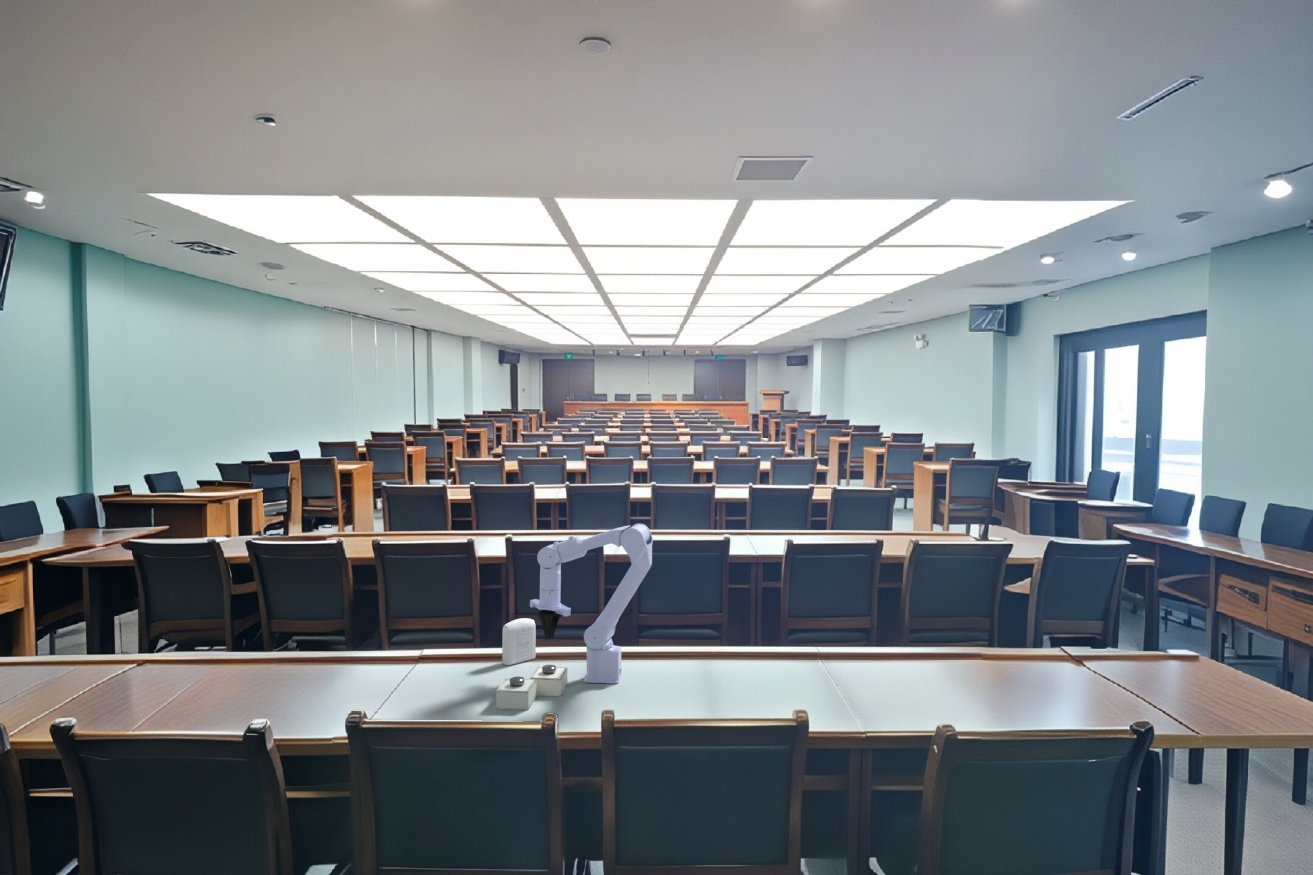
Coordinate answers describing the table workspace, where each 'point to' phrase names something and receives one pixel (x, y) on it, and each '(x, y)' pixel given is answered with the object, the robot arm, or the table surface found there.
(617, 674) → the robot arm
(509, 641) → the white rounded slab
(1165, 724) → the table surface
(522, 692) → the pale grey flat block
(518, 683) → the plunger
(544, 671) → the plunger
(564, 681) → the white square block
